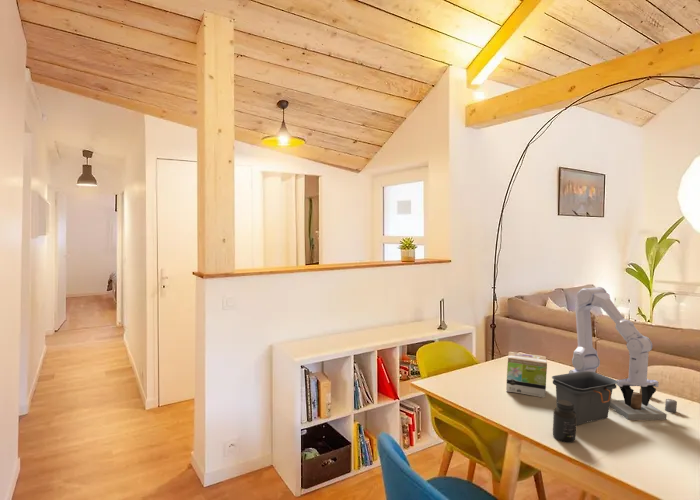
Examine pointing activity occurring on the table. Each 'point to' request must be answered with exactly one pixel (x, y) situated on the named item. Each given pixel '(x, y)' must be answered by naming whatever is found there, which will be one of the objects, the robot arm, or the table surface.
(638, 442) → the table surface
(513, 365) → the tea box
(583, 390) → the storage bin
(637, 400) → the long dowel
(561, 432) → the supplement bottle
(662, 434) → the table surface
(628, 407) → the hole board
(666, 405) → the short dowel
